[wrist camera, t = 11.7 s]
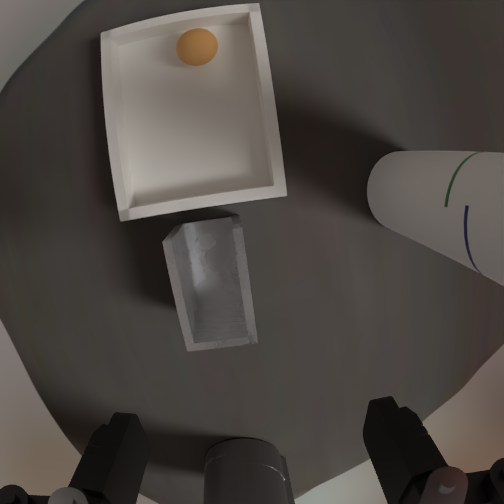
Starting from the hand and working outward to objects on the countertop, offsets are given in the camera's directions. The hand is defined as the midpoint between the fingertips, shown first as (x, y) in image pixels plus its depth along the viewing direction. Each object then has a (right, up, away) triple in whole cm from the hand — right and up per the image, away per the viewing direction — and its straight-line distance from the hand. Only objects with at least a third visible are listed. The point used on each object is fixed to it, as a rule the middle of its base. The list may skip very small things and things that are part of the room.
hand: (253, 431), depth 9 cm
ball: (-4, +21, +9) cm, 23 cm away
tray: (-5, +17, +13) cm, 22 cm away
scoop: (-3, +5, +17) cm, 17 cm away
